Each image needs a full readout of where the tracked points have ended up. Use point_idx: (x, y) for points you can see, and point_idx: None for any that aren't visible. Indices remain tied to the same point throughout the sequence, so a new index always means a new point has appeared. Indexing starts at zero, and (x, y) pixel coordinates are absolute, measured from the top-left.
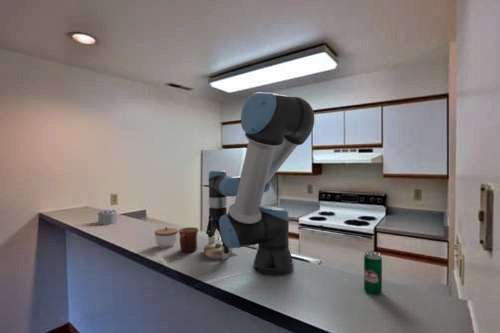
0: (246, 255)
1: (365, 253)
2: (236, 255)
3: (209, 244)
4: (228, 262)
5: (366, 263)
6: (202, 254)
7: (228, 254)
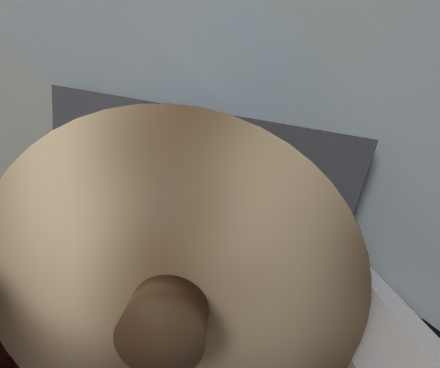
0: (397, 9)
1: None
2: (373, 154)
3: (5, 324)
4: (377, 269)
5: None
6: None
7: (381, 281)
